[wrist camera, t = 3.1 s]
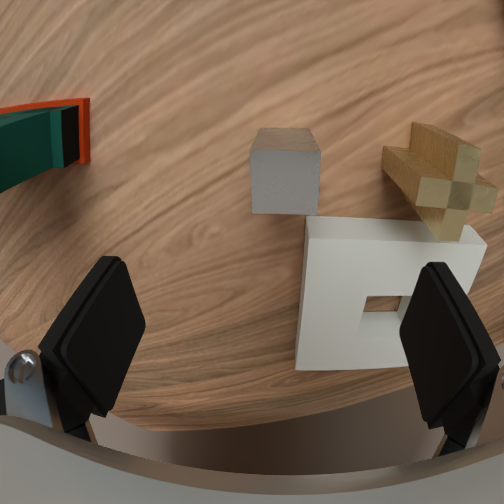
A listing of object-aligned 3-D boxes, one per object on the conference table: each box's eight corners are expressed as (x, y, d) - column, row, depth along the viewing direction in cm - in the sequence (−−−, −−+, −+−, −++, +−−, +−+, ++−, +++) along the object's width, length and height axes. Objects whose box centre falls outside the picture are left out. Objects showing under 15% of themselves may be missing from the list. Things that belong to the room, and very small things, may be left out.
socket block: (469, 225, 25) (487, 245, 22) (422, 341, 35) (430, 363, 32) (306, 215, 27) (308, 238, 24) (295, 344, 37) (295, 370, 33)
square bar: (309, 128, 23) (320, 151, 16) (308, 173, 25) (317, 214, 18) (260, 127, 23) (249, 150, 16) (261, 173, 25) (252, 213, 18)
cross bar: (453, 129, 20) (505, 155, 14) (441, 199, 24) (482, 243, 18) (385, 117, 21) (426, 137, 14) (377, 193, 25) (407, 239, 18)
